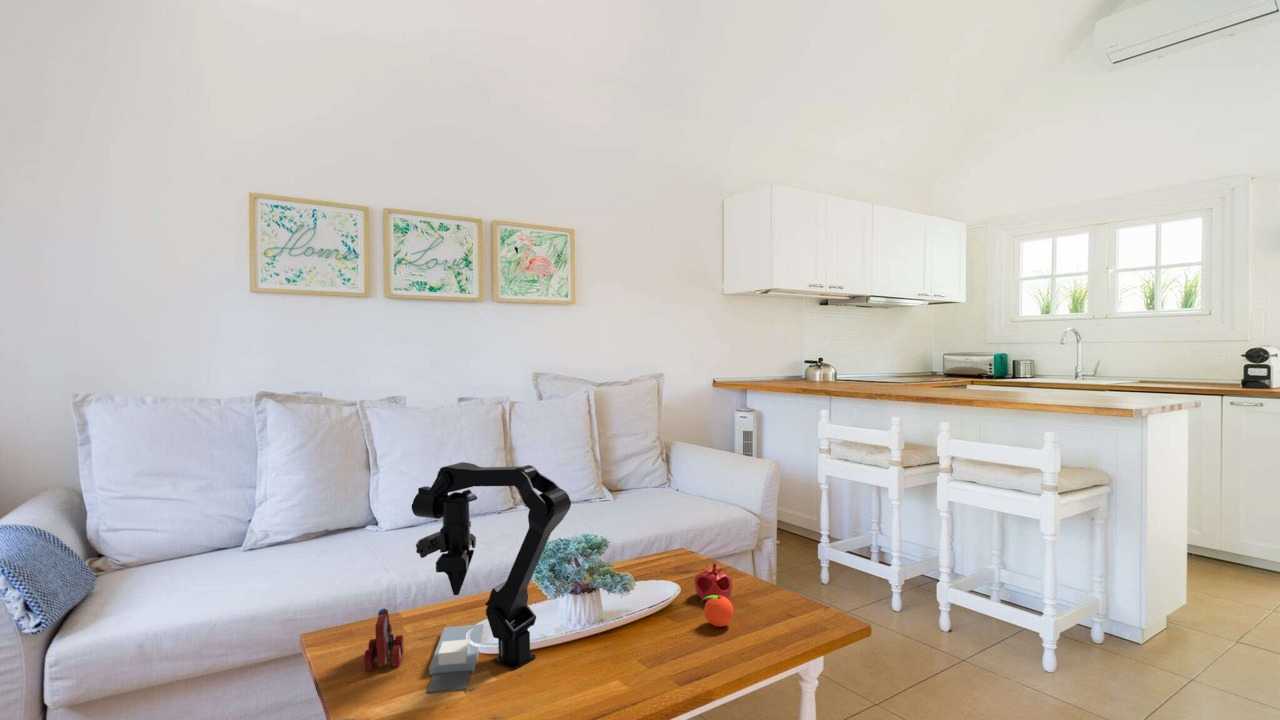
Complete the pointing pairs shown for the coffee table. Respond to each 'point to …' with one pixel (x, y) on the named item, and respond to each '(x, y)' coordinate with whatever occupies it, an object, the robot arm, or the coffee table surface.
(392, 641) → the red toy vehicle
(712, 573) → the pomegranate
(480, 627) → the grey board
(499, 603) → the robot arm
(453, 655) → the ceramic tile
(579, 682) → the coffee table surface
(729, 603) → the clementine
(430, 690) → the rubber mat
